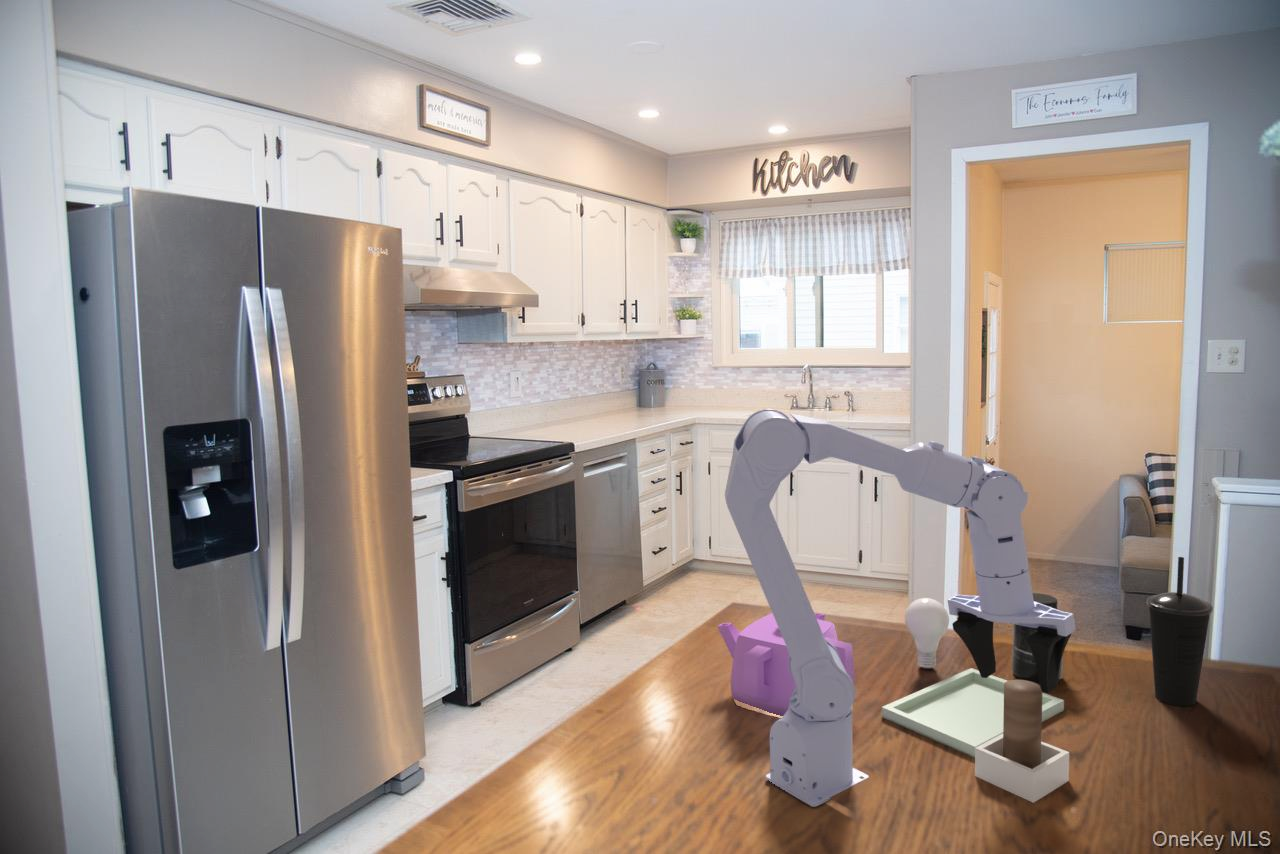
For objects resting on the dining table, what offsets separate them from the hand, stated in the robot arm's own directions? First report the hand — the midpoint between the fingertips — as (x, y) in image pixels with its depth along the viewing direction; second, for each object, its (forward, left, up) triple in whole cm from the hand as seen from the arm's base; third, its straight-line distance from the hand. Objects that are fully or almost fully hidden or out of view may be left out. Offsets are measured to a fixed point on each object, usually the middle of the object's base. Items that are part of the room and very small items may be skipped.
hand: (1018, 681), depth 100 cm
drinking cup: (+35, -2, -12) cm, 37 cm away
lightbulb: (+18, +26, -12) cm, 34 cm away
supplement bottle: (+28, +14, -12) cm, 33 cm away
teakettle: (-5, +33, -12) cm, 35 cm away
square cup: (-1, -1, -12) cm, 12 cm away
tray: (+9, +12, -12) cm, 19 cm away
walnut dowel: (-1, -1, -11) cm, 11 cm away
